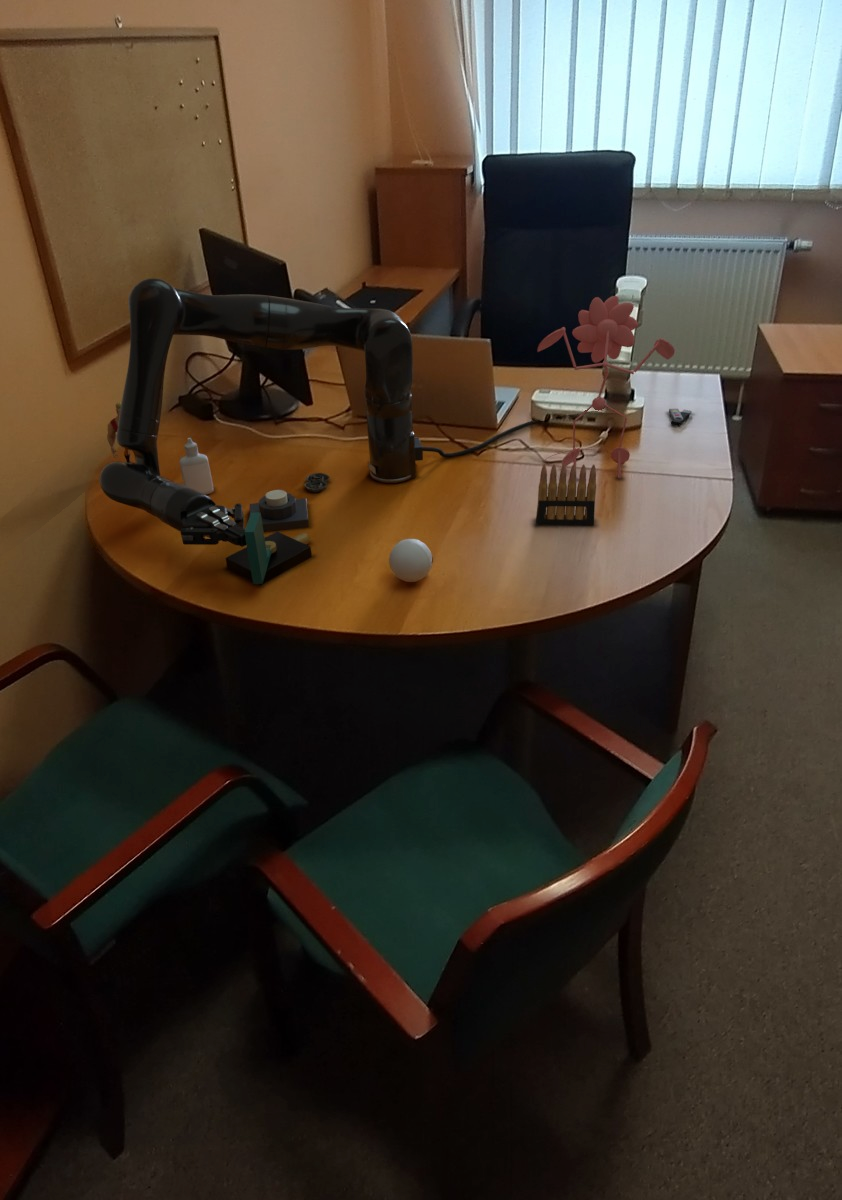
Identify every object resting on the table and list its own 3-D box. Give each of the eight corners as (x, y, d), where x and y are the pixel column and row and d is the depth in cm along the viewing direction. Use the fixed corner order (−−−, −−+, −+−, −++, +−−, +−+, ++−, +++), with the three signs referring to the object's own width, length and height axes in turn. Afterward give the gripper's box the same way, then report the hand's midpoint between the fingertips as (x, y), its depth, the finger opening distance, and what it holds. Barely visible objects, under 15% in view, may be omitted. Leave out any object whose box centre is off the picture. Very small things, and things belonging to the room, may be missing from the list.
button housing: (307, 505, 167) (304, 487, 165) (309, 527, 160) (306, 508, 158) (251, 511, 166) (248, 493, 164) (250, 533, 159) (247, 514, 156)
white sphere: (436, 588, 141) (435, 550, 137) (392, 592, 140) (390, 554, 136) (428, 557, 149) (427, 521, 145) (386, 561, 149) (384, 525, 145)
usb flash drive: (680, 426, 194) (680, 422, 193) (657, 422, 196) (658, 418, 196) (692, 414, 200) (692, 410, 199) (670, 410, 202) (671, 406, 202)
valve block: (290, 535, 157) (288, 525, 156) (323, 550, 152) (322, 540, 151) (227, 568, 148) (225, 557, 147) (260, 585, 143) (258, 574, 142)
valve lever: (260, 546, 149) (252, 495, 144) (277, 545, 149) (270, 495, 144) (248, 584, 139) (239, 532, 133) (266, 583, 139) (258, 531, 133)
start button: (287, 496, 163) (286, 488, 162) (288, 506, 159) (286, 498, 158) (266, 498, 162) (265, 490, 161) (266, 508, 159) (265, 500, 158)
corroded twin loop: (302, 494, 171) (302, 489, 171) (307, 477, 178) (306, 472, 177) (327, 493, 171) (327, 488, 170) (330, 476, 178) (330, 471, 177)
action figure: (110, 470, 184) (93, 404, 175) (116, 463, 187) (100, 398, 178) (153, 470, 183) (138, 404, 175) (158, 463, 186) (143, 398, 178)
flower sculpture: (661, 479, 172) (687, 303, 152) (535, 483, 172) (544, 308, 153) (644, 448, 185) (665, 282, 165) (526, 452, 185) (534, 287, 165)
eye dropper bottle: (209, 498, 171) (198, 443, 164) (183, 497, 172) (171, 442, 165) (216, 488, 175) (206, 434, 168) (191, 487, 176) (180, 433, 169)
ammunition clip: (536, 525, 158) (539, 466, 151) (535, 520, 159) (538, 462, 153) (593, 525, 157) (599, 466, 150) (593, 520, 159) (598, 462, 152)
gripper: (145, 503, 140) (208, 535, 130) (210, 475, 148) (274, 504, 138) (154, 542, 144) (216, 576, 135) (217, 513, 152) (279, 544, 143)
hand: (245, 540), depth 137 cm, fingers closed
